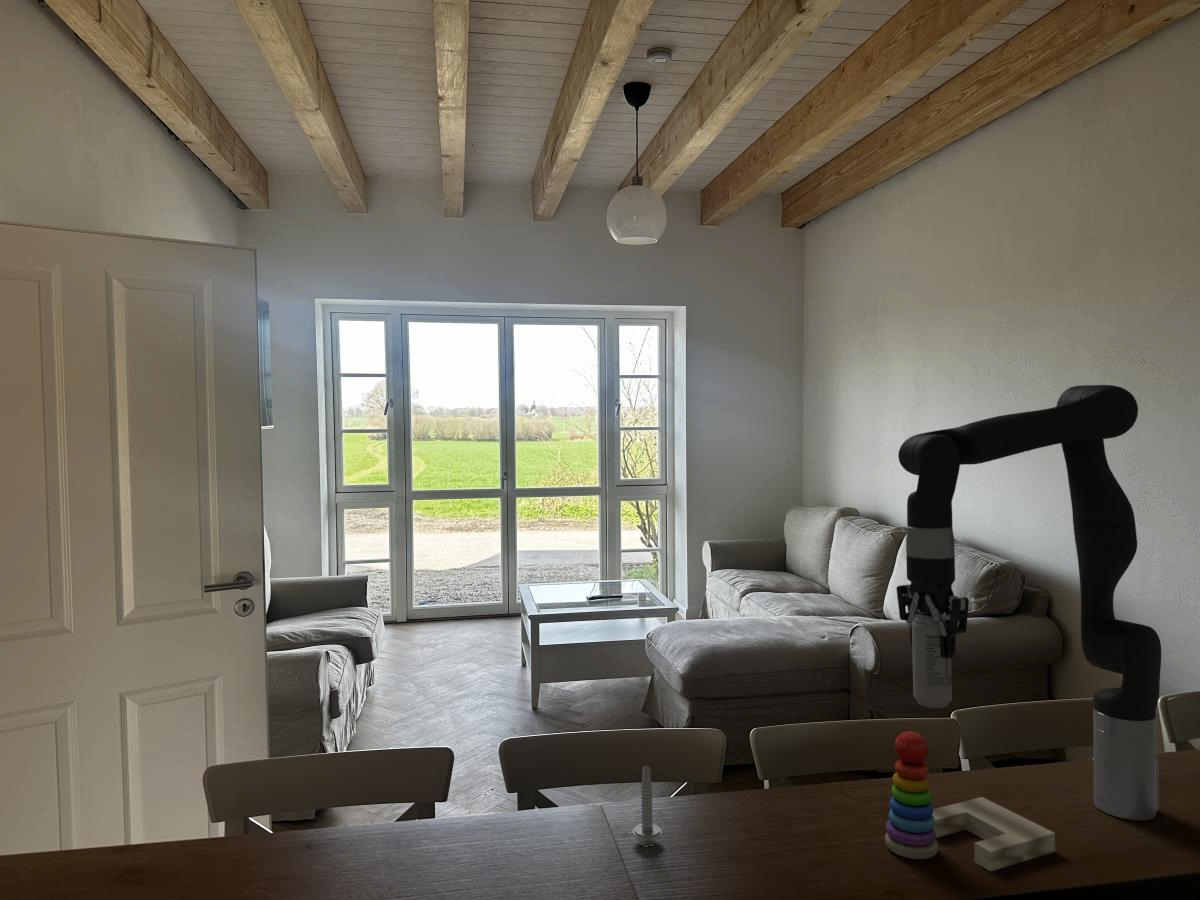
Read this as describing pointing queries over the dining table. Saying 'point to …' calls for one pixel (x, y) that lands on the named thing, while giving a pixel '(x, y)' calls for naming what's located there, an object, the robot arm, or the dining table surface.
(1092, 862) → the dining table surface
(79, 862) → the dining table surface
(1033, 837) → the notched board
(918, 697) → the energy drink can
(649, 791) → the screw
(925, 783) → the stacking toy
